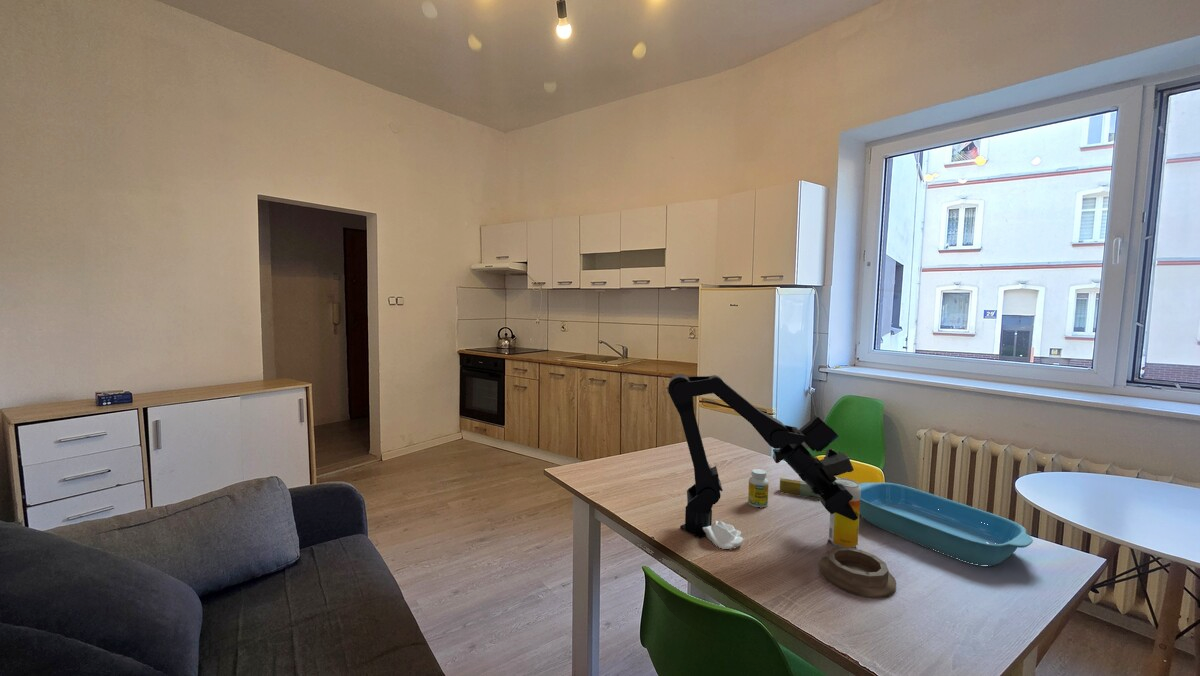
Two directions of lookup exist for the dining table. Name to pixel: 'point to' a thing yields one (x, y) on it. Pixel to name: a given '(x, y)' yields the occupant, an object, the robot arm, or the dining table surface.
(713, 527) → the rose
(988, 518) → the casserole dish
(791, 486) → the medication box
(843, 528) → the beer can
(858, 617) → the dining table surface
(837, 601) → the dining table surface
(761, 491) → the supplement bottle
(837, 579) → the can holder
